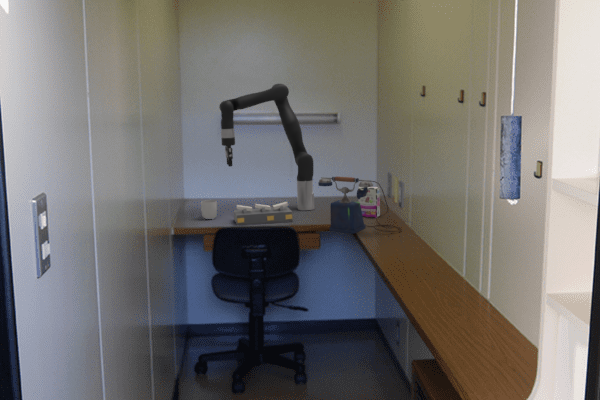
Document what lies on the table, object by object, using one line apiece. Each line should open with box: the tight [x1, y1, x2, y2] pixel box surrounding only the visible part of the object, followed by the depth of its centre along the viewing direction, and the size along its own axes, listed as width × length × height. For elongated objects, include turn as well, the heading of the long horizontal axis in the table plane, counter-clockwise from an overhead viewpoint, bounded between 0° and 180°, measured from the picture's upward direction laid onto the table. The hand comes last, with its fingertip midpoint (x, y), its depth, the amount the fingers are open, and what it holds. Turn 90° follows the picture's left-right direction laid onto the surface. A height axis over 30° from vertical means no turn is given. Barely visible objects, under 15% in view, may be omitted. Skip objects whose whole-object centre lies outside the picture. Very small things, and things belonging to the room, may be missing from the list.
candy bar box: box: [357, 186, 381, 219], centre depth 350 cm, size 11×5×16 cm, turn 62°
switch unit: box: [233, 206, 293, 226], centre depth 346 cm, size 30×14×8 cm, turn 102°
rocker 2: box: [272, 201, 289, 210], centre depth 348 cm, size 8×4×2 cm, turn 102°
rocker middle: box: [254, 203, 272, 210], centre depth 345 cm, size 8×4×2 cm, turn 103°
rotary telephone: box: [317, 176, 402, 235], centre depth 320 cm, size 41×22×27 cm, turn 60°
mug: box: [200, 199, 218, 219], centre depth 357 cm, size 13×9×10 cm
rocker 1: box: [236, 204, 253, 211], centre depth 343 cm, size 8×4×2 cm, turn 103°
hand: (229, 165), depth 360 cm, fingers open, 8 cm apart
